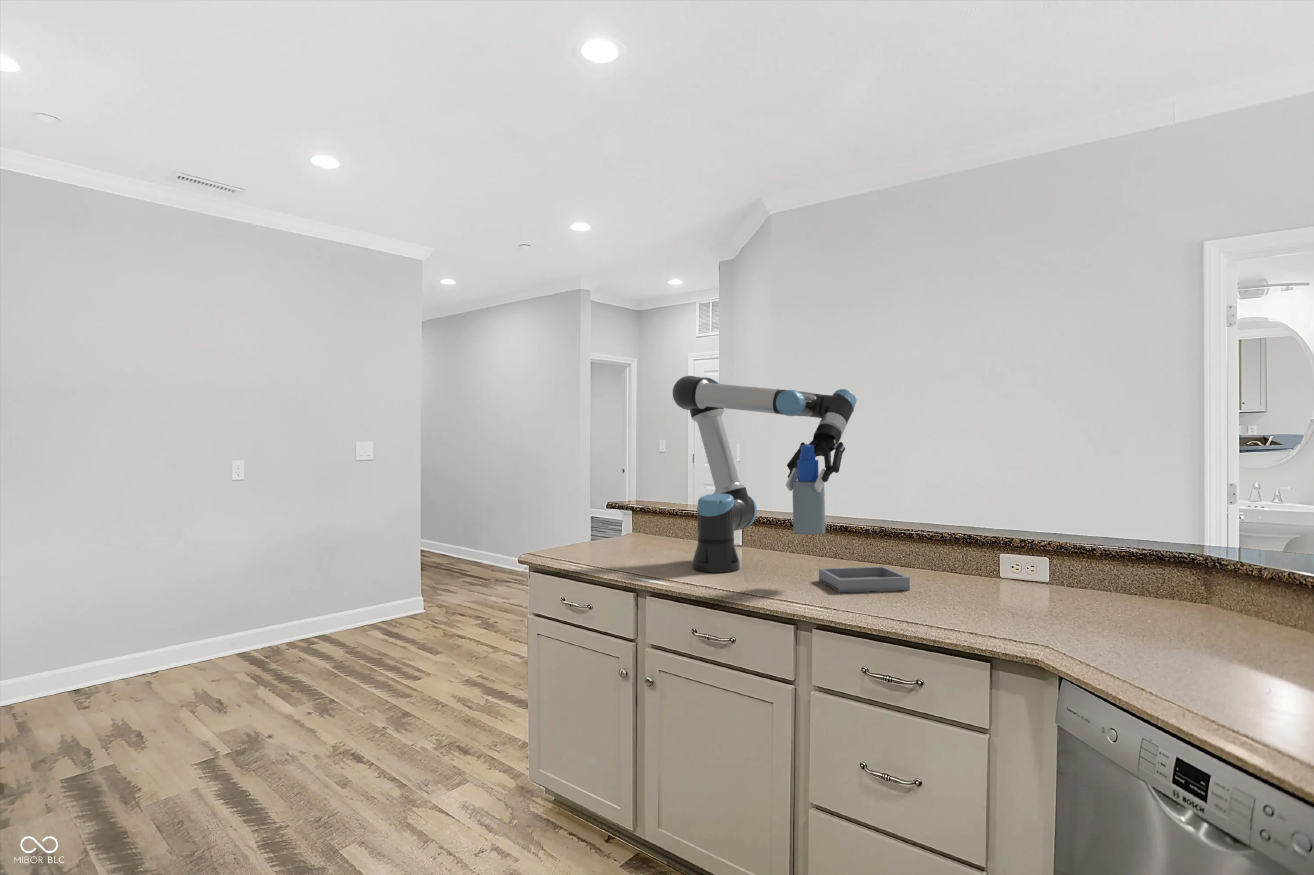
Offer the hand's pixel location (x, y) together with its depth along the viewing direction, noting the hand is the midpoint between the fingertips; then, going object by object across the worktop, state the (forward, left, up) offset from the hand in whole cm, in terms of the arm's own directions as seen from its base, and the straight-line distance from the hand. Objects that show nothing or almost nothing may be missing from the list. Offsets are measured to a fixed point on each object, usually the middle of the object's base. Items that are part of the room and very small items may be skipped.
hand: (802, 488), depth 182 cm
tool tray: (+1, +17, -28) cm, 32 cm away
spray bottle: (-2, +3, -13) cm, 13 cm away
